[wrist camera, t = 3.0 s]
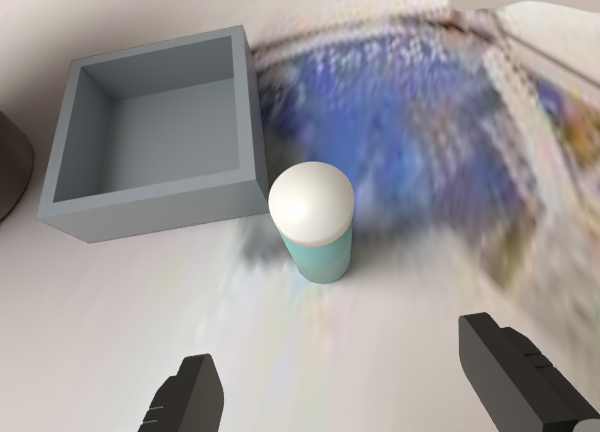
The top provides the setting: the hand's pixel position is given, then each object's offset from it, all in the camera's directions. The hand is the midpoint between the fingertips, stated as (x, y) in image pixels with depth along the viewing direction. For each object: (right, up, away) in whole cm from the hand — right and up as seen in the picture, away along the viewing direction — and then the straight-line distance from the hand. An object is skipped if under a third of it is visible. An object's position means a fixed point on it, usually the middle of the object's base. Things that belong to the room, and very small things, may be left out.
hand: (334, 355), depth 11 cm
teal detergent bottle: (+1, +1, +18) cm, 18 cm away
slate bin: (-14, +11, +24) cm, 30 cm away
